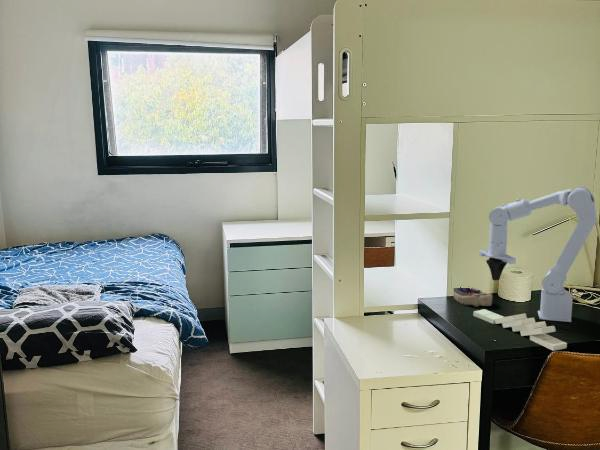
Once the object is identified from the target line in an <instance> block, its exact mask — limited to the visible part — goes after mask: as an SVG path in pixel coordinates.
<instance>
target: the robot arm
mask: <svg viewBox="0 0 600 450" xmlns="http://www.w3.org/2000/svg"><path fill="white" fill-rule="evenodd" d="M595 200H596V199H595V197H594V196H593V194H592V192H591V190H590V189H589V188H587V187H585V186H578V187H575V188H568V189H564V190H558V191H556V192H553V193H550V194H547V195H544V196H542V197H538V198H535V199H533V200H527V199H525V198H523V199H521V198H517V199H515V201H514V202H510V203H507V204H506V203H502V204H501V206H496V207H494V208H493V209H492V210H490V212H489V213H488V219H489V222H490V223H489V234H488V239H489V240H488V250H486V249H481V250H480V249H479V256H480V257H486V258H488V259H486V261H485V262H486V264H487V266H488V268H489V271H490V274H491V279H492V281H499V280H501V276H502V273H503V270H504V269H505V267H506V266H507V264H509V265H515V264H516V262H517V261H516V260H517V259H516V257H513V256H511V255H508V254H507V246H508V245H507V244H508V243H507V241H508V221H515V220H519V219H521V218H525V217H528V216H529V217H530V215H531V214H532V212H533V211H534V210H540V209H542V208H546V207H549V206H553V205H561V206H564V207H566V206H567V205H568V206H569V208H571V209H572V210H573V211H574V213H575V214H576V215H575V216H576V217H577V219H578V223H577V224H576V226H575V227H574V230H573V231H572V233H571V235H570V237H569V239H568V241H567V242H566V244H565V245H564V247H563V249H562V251H561V253H560V254H559V256H558V258H557V260H556V262H555V263H554V266H553V267H552V268H551V269H549V270H547V272H546V274H545V276H544V277H543V279H542V281H541V286H542V287H541V292H540V305H539V306H540V308H539V310H537V314H538V317H539V318H538V319H539V320H542V321H543V320H544V321H545V320H546V321H554V322H555V321H556V322H565V323H566V322H568V323H572V313H573V312H572V311H573V294H572V292H568V291H566V289H565V288H564V284H565V283H566V280H567V274H568V272H569V270H571V269H570V268H571V267H572V265H573V263H574V262H575V260H576V258H577V256H578V254H579V253H580V251H581V250H582V247H584V245H585V243H586V240H587V238H588V237H589V236H590V233H591V232H592V230H593V228H594V227H595V225H596V223H597V221H598V217H597V210H596V203H595V202H596V201H595Z"/></svg>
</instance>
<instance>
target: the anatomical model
mask: <svg viewBox="0 0 600 450" xmlns="http://www.w3.org/2000/svg"><path fill="white" fill-rule="evenodd" d="M452 294H453V295H452V296H453V299H454V301H455V300H456V301H457V302H456V301H455V302H456V303H458V302H459V303H458V304H460V305H462V304H463V306H473V307H481V306H482V307H490V306H492V303H493V302H492V301H493V295H492V294H491V293H488V292H483V291H481V290H480V289H477V288H475V287H472V288H471V289H470V288H461V287H460V288H454V287H453V291H452Z"/></svg>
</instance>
